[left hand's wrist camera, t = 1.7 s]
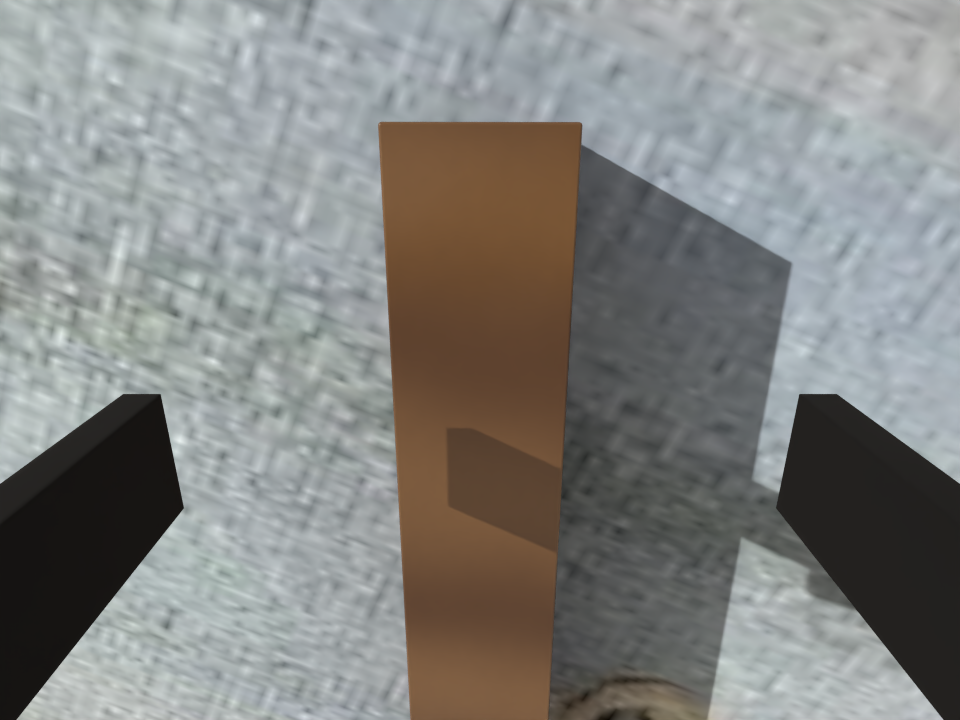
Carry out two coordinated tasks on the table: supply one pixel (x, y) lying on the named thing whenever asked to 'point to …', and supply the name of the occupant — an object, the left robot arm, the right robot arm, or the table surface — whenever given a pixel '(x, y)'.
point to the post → (479, 401)
